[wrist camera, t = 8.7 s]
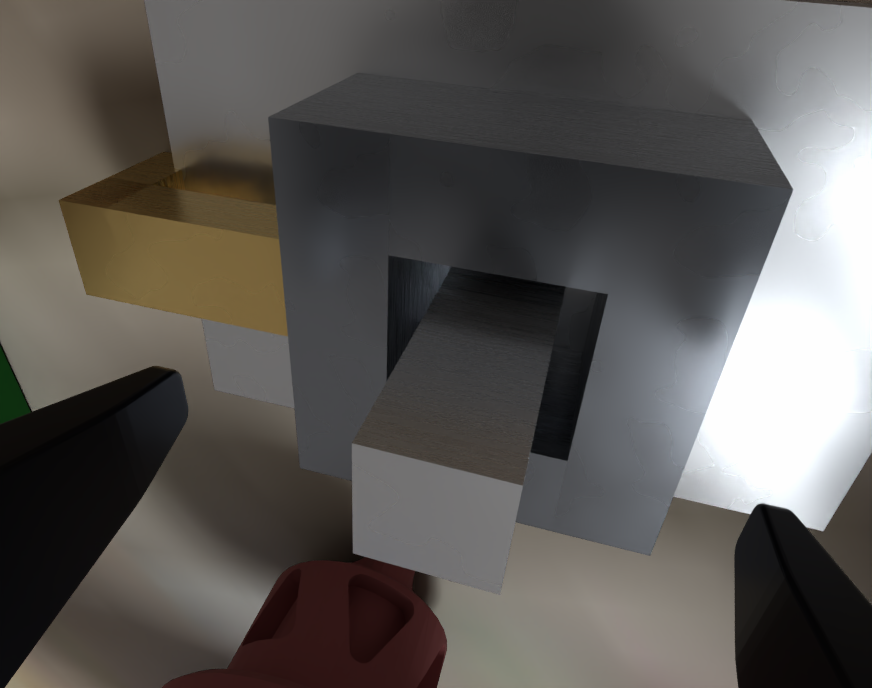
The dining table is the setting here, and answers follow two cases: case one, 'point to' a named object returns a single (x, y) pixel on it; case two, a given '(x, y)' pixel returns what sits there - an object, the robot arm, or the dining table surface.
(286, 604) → the mechanical component
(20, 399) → the milk carton
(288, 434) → the dining table surface
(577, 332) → the square socket plate
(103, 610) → the dining table surface
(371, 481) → the gray square beam
